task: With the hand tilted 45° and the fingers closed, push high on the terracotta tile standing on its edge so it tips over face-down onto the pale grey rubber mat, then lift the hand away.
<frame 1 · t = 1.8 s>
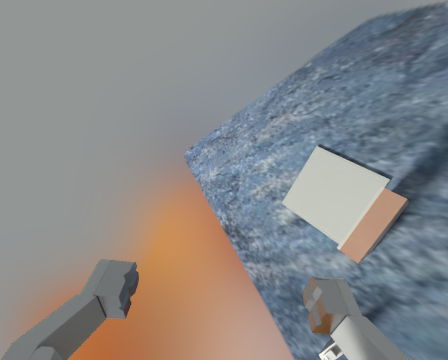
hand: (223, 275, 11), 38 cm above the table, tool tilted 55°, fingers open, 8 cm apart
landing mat: (329, 193, 44), on the table
tile: (380, 223, 38), on the table
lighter: (344, 337, 40), on the table
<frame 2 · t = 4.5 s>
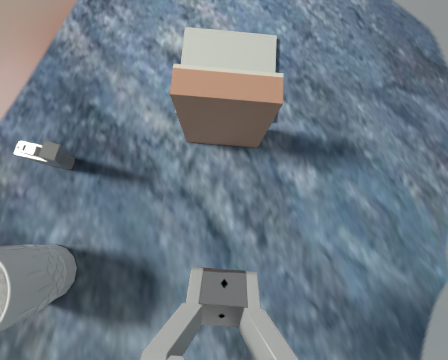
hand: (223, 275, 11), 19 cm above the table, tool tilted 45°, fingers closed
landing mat: (227, 74, 34), on the table
tile: (223, 134, 32), on the table
white cup: (50, 271, 28), on the table
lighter: (70, 163, 31), on the table
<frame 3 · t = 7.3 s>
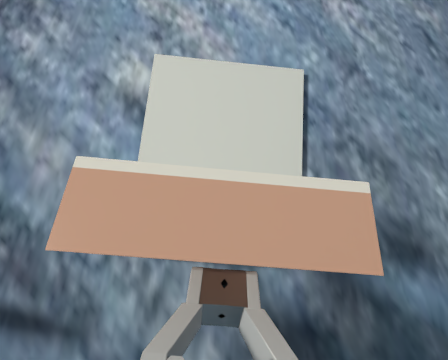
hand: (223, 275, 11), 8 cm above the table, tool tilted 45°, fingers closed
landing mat: (223, 135, 20), on the table
tile: (214, 243, 18), on the table, tilted 10°
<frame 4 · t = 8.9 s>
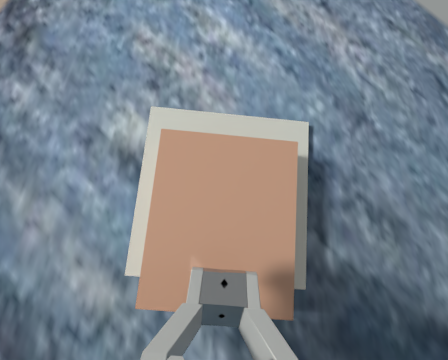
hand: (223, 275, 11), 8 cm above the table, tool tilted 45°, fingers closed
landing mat: (223, 193, 19), on the table
tile: (214, 305, 16), point 2 cm above the table, tilted 90°, touching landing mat
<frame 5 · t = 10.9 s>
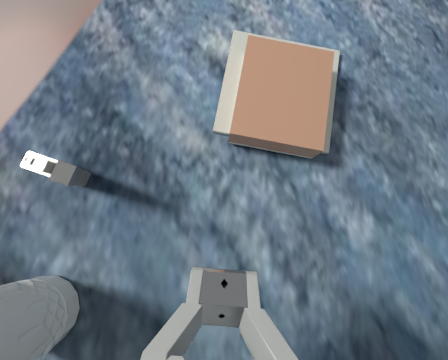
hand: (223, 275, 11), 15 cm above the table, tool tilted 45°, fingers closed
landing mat: (278, 91, 29), on the table
tile: (272, 146, 25), point 2 cm above the table, tilted 90°, touching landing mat
white cup: (48, 308, 23), on the table
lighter: (84, 178, 26), on the table
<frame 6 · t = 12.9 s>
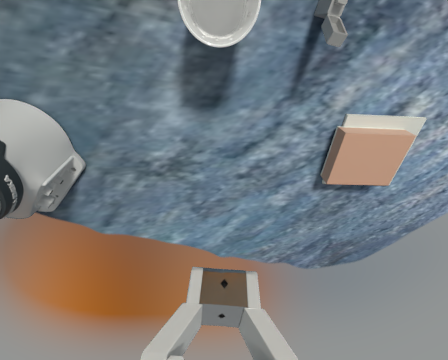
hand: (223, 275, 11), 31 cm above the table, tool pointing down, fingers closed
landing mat: (368, 152, 42), on the table
tile: (331, 156, 40), point 2 cm above the table, tilted 90°, touching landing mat
white cup: (217, 7, 30), on the table
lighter: (320, 12, 30), on the table
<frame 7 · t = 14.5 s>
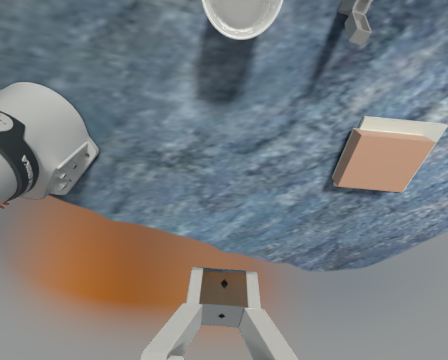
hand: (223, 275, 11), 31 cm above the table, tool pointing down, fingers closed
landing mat: (383, 157, 41), on the table
tile: (345, 158, 39), point 2 cm above the table, tilted 90°, touching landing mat
white cup: (239, 0, 29), on the table
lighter: (345, 8, 30), on the table
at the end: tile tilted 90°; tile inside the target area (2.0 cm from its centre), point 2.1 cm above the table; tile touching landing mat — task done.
